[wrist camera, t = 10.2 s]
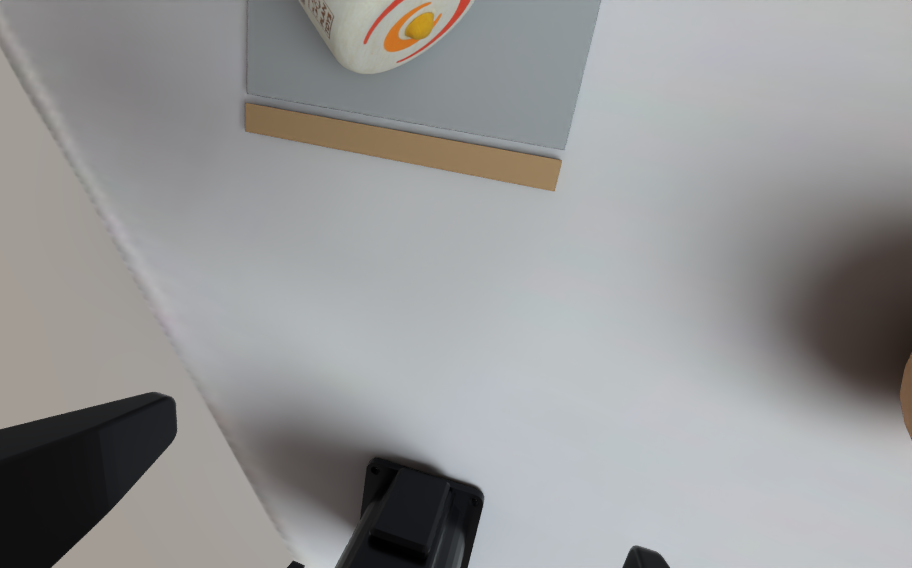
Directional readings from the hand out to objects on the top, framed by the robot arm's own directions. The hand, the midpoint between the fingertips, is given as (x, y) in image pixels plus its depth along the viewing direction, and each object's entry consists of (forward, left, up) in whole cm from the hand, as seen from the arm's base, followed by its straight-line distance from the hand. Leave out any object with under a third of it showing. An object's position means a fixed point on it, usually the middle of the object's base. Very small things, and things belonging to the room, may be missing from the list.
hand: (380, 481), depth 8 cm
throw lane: (+11, +5, -12) cm, 17 cm away
